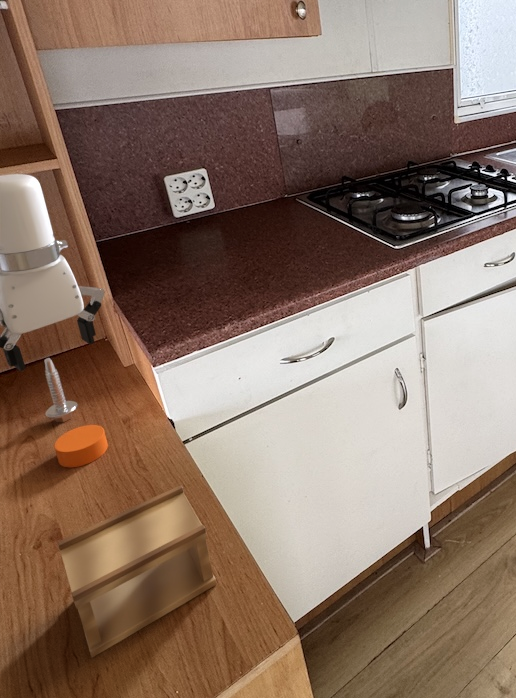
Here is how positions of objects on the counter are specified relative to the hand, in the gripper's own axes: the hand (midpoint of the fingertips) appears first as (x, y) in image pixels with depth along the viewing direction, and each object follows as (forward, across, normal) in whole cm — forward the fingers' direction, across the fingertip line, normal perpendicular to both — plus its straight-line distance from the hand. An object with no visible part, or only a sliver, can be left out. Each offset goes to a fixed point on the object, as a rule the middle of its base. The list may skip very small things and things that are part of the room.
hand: (55, 354), depth 94 cm
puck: (+19, 0, +1) cm, 19 cm away
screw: (+19, -2, -12) cm, 23 cm away
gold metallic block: (+19, +7, +37) cm, 42 cm away
